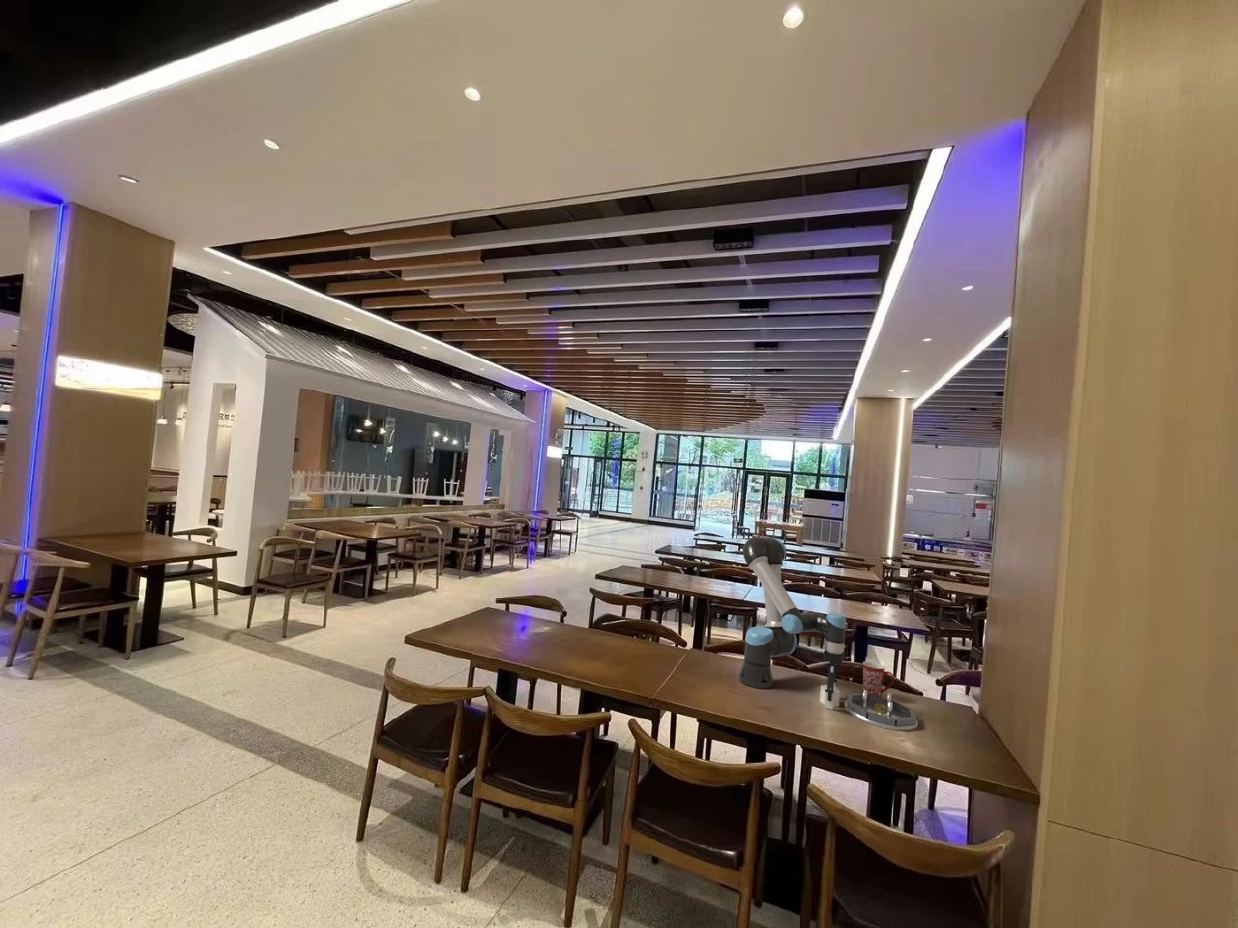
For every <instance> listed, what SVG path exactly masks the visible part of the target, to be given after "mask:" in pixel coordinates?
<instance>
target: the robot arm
mask: <svg viewBox="0 0 1238 928" xmlns="http://www.w3.org/2000/svg"><path fill="white" fill-rule="evenodd" d="M742 555H743V559H744V561H745V563H746V565H747V567H748V569H749V570H752V571H753V573H754V575H756V577H757V579H758V580H759V582H760V583H761V585H762V587H763V588H762V589H763V596H764V605H765V606H764V608H765V615H766V623H765V624H764V625H763V626H753V627H750V628H748V629H747V631H746V636H745V645H744V655H743V656H744V657H743V663H742V665H741V668H740V669H739V672H738V677H737V680H738V681H739V682H740V683H742V684H743V685H746V686H748V687H752V688H756V689H764V690H765V689H770V688H773V687H774V677H773V673H772V669H771V665H772V664H771V663H772V658H776V657H785V656H788V655H791V654H792V653H794V652H795V650H796V649H797V644H798V641H797V640H798V638H797V634H800V633H810V632H817V633H820V634H823V635H824V636H825V638H824V645H823V647H824V648H823V649H824V650H823V660H824V661H826V662H829V663H827V665H826V670H827V684H826V685H827V690H825V692H826V703H825V705H824V707H825V709H828V710H833V708H834V707H833V695H834V691H833V690H834V687H836V683H838V679H837V674H838V669H839V668H838V667H839V665H840V664H842V663H844V652H845V651H844V650H845V648H846V646H847V645H845V638H846V637H845V636H846V628H847V625H846V624H847V618H846V615H844V614H842V613H836V612H827V614H826V615H824V614H821V613H818V612H815V611H813V610H811V611H810V610H803V612H800V610H799V609H798V607H797V606H796V603H794V601H793V599H792V598H791V596H790V595H789V593H788V592H787V590H786V588H785V587H784V585H783V584H782V575H781V568H782V567H784V564H783V563H784V560H785V559H786V557H787V548H786V546H785V544H784V542H782V541H781V540H780V539H779V538H774V537H760V536H759V537H758V536H755V537H751V538H749V539H747V540H746V541H745V543H744V545H743V547H742ZM837 664H839V665H837ZM830 689H832V690H830Z"/></svg>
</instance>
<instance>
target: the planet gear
mask: <svg viewBox="0 0 1238 928" xmlns="http://www.w3.org/2000/svg"><path fill="white" fill-rule="evenodd" d="M825 690H827V684H826V685H825V684H823V685H821V686H820V693H819V702H820V703H821V704H823V706H825V703H826V692H825ZM830 690H832V689H830ZM833 691H834V695H833V708H836V707H837V708H838V707H839V706H840V695H841V689H840V688H837V687H836V686H835V687H834V690H833Z"/></svg>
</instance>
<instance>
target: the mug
mask: <svg viewBox="0 0 1238 928" xmlns="http://www.w3.org/2000/svg"><path fill="white" fill-rule="evenodd" d="M862 664H863V665H862V666H863V668H862V669H863V670H862V672H863V673H862V692H863V691H864V690H866V691H867V694H868V693H869V694H873V695H877V696H881V697H882V694H883V693H885V692H886V691H887V690H888V689H890V687H892V685H893V684H894V681H895V676H894V674H893V673H892V672H891V671H889V670H888V671H885V669H886V666H885V665H883V664H882V663H878V662H874V661H863V662H862ZM887 675H890V676H891V681H890V683H889V684H888V685H886V687H885V688H883V685H884V684H883V682H884V678H885V677H886V676H887Z"/></svg>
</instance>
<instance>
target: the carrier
mask: <svg viewBox="0 0 1238 928" xmlns="http://www.w3.org/2000/svg"><path fill="white" fill-rule="evenodd" d="M847 696H848V697H847V699H846V700H845V702H844V709H845V711H846V712H847V713H848V714H850V715H851V716H853V717H854V718H856V719H858V720H859V721H862V722H864V723H867V724H869V725H872V726H875V727H879V728H883V729H886V730H893V731H899V732H900V731H901V732H902V731H903V732H907V731H908V732H909V731H913V730H915V729H917V728H918V725H919V723H918V719H917V718H916V713H915V709H913V708H911V707H909V706H907V705H905V704H903V703H901V702H899V701H897V700H896V699H892V693H890V692H887V694H886V697H885V696H882V695H881V696H877V695H873V694H869V693H868V694H867V691H866V690H864V691H863V690H862V692H861V693H849V694H848V695H847Z"/></svg>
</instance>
